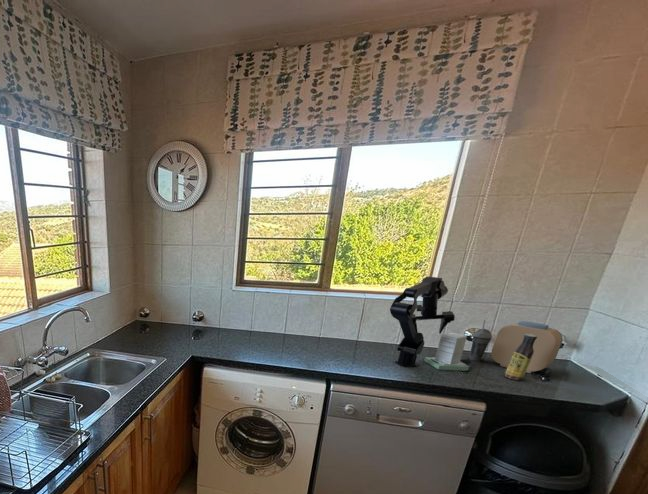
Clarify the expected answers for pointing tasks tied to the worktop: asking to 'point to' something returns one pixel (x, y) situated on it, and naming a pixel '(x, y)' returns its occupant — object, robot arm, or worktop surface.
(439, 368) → the kitchen scale
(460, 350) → the white packaging box
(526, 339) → the sauce bottle
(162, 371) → the worktop surface
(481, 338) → the beverage cup
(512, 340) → the beige toaster
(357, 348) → the worktop surface
